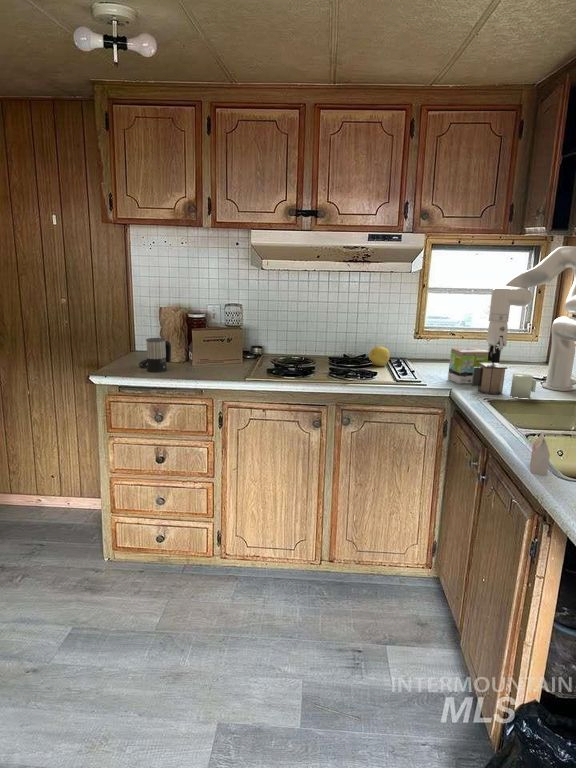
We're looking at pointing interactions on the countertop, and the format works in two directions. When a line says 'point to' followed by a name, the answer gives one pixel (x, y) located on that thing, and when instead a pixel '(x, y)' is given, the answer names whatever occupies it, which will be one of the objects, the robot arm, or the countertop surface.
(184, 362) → the countertop surface
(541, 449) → the tea bag
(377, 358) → the fruit
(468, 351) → the tea box
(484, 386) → the brown wooden mug
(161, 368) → the milk frother
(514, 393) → the sage mug
